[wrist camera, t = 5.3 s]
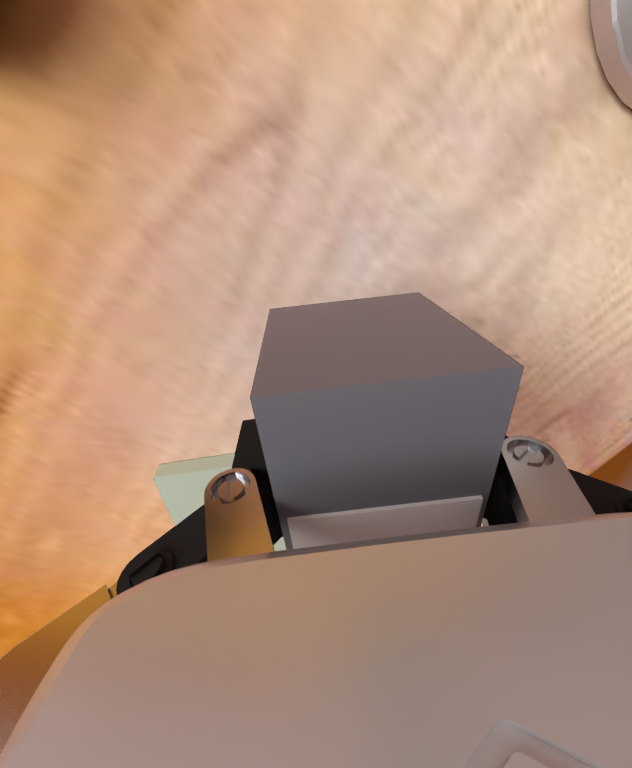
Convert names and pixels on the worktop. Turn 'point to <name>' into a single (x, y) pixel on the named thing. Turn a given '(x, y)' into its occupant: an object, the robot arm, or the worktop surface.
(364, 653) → the robot arm
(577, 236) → the worktop surface
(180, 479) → the header board
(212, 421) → the worktop surface
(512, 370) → the block
